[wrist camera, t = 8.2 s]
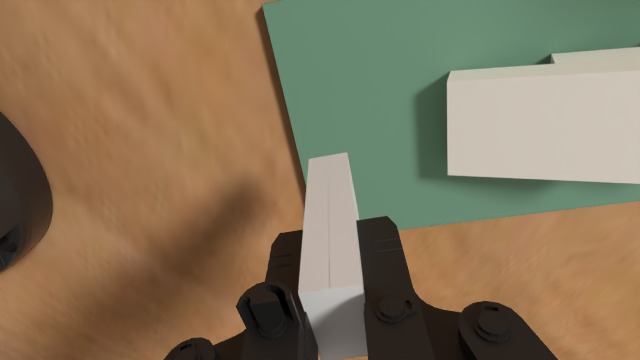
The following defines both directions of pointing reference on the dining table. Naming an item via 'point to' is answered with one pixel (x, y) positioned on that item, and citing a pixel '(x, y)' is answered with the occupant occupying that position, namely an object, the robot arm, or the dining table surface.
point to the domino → (546, 121)
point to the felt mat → (427, 94)
